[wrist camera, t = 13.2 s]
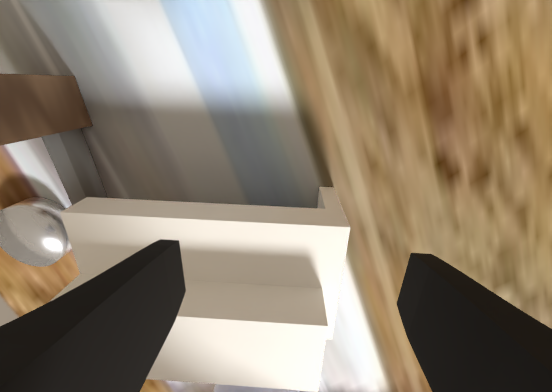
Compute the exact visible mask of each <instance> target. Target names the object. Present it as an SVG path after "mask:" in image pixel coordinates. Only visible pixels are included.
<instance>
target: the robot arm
mask: <svg viewBox="0 0 552 392" xmlns="http://www.w3.org/2000/svg"><path fill="white" fill-rule="evenodd" d="M185 292H186V287H185V280H184V273H183V266H182V258H181V251H180V244H179V240H164V239H160V240H158V241H156V242H154V243H152V244H150V245H148V246H147V247H145V248H143V249H141V250H140V251H138V252H136V253H135V254H133V255H131V256H130V257H128V258H126V259H124V260H123V261H121V262H119V263H118V264H116V265H114V266H113V267H111V268H109V269H108V270H106V271H104V272H102V273H101V274H99V275H97V276H96V277H94V278H92V279H90V280H89V281H87V282H85V283H83V284H81V285H79V286H78V287H76V288H74V289H72V290H70V291H69V292H67V293H65V294H63V295H61V296H59V297H58V298H56V299H54V300H52V301H50V302H49V303H47V304H45V305H43V306H41V307H39V308H37V309H35V310H33V311H31V312H29V313H27V314H25V315H23V316H21V317H19V318H17V319H15V320H13V321H11V322H9V323H7V324H5V325H2V326H0V392H140V390H141V388H142V386H143V384H144V382H145V380H146V378H147V376H148V374H149V372H150V370H151V368H152V366H153V364H154V362H155V360H156V358H157V356H158V354H159V352H160V350H161V348H162V346H163V344H164V342H165V340H166V338H167V336H168V334H169V332H170V330H171V328H172V326H173V324H174V322H175V320H176V317H177V315H178V312H179V309H180V307H181V304H182V301H183V298H184V295H185ZM397 306H398V310H399V313H400V316H401V319H402V323H403V326H404V329H405V331H406V334H407V337H408V339H409V342H410V344H411V346H412V348H413V351H414V353H415V355H416V357H417V359H418V362H419V364H420V366H421V368H422V370H423V372H424V375H425V377H426V379H427V381H428V383H429V385H430V387H431V390H432V392H552V329H551V328H549V327H547V326H546V325H544V324H542V323H541V322H539V321H537V320H536V319H534V318H532V317H531V316H529V315H528V314H526V313H524V312H523V311H521V310H520V309H518V308H516V307H515V306H513V305H512V304H510V303H508V302H507V301H505V300H504V299H502V298H501V297H499V296H498V295H496V294H494V293H493V292H491V291H490V290H488V289H487V288H485V287H484V286H482V285H481V284H479V283H477V282H476V281H474V280H473V279H471V278H470V277H468V276H467V275H465V274H464V273H462V272H460V271H459V270H457V269H456V268H454V267H453V266H451V265H449V264H448V263H446V262H444V261H443V260H441V259H439V258H438V257H436V256H434V255H432V254H420V253H411V255H410V258H409V262H408V266H407V269H406V273H405V276H404V280H403V283H402V287H401V291H400V294H399V298H398V301H397ZM214 392H299V390H288V389H274V388H261V387H248V386H234V385H221V384H215V388H214Z"/></svg>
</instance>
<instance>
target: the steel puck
mask: <svg viewBox="0 0 552 392" xmlns="http://www.w3.org/2000/svg"><path fill="white" fill-rule="evenodd" d="M63 210H65V208H64V207H62V206H61V205H59V204H58V203H56V202H54V201H52V200H49V199H46V198H41V197H32V198H28V199H25V200H23V201H20V202H18V203H16V204H14V205H11V206H9V207H7V208H4V209H2V210H0V246H1V248H2V249H3V250H4V251H5V252H6V253H8V254H9V255H10V256H12V257H13V258H15V259H16V260H18V261H20V262H22V263H25V264H28V265H32V266H48V265H51V264H53V263H55V262H56V261H58V260H59V259H60V258H62V257H63V256H64V255H66V254H67V253H68V252H69V251H71V250H72V247H71V244H70V241H69V238H68V235H67V232H66V229H65V226H64V223H63V220H62V217H61V214H60V212H61V211H63Z"/></svg>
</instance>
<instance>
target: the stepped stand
mask: <svg viewBox="0 0 552 392" xmlns="http://www.w3.org/2000/svg"><path fill="white" fill-rule="evenodd" d="M60 214H61V217H62V220H63V223H64V226H65V229H66V232H67V235H68V238H69V241H70V244H71V247H72V250H73V253H74V256H75V259H76V262H77V265H78V268H79V272H80V274H79V275H78V276H77V277H76V278H75V279H74V280H73V281H72V282H71V283H70V284H68V285H67V286H66V287H65V288H64V289H63V290H62V291H61V292H60V293H59V294H57V295H56V296H55V297H54V298H53V299H52V300H54V299H56V298H58V297H59V296H61V295H63V294H65V293H67V292H69V291H70V290H72V289H74V288H76V287H78V286H79V285H81V284H83V283H85V282H87V281H89V280H90V279H92V278H94V277H96V276H97V275H99V274H101V273H102V272H104V271H106V270H108V269H109V268H111V267H113V266H114V265H116V264H118V263H119V262H121V261H123V260H124V259H126V258H128V257H130V256H131V255H133V254H135V253H136V252H138V251H140V250H141V249H143V248H145V247H147V246H148V245H150V244H152V243H154V242H156V241H158V240H160V239H164V240H179V244H180V251H181V258H182V266H183V273H184V280H185V287H186V292H185V295H184V298H183V301H182V304H181V307H180V309H179V312H178V315H177V317H176V320H175V322H174V324H173V326H172V328H171V330H170V332H169V334H168V336H167V338H166V340H165V342H164V344H163V346H162V348H161V350H160V352H159V354H158V356H157V358H156V360H155V362H154V364H153V366H152V368H151V370H150V372H149V374H148V376H147V378H146V379H154V380H167V381H181V382H194V383H207V384H221V385H234V386H248V387H261V388H274V389H288V390H301V391H315V392H318V390H319V383H320V377H321V370H322V363H323V357H324V350H325V343H326V339H332V337H333V331H334V325H335V318H336V312H337V306H338V300H339V294H340V288H341V282H342V275H343V269H344V263H345V257H346V251H347V245H348V239H349V232H350V225H349V223H348V220H347V218H346V216H345V213H344V211H343V208H342V206H341V203H340V201H339V199H338V196H337V194H336V191H335V189H334V187H319V195H318V205H317V208H300V207H279V206H259V205H239V204H218V203H198V202H178V201H157V200H137V199H117V198H96V197H86V198H85V199H83V200H81V201H79V202H77V203H76V204H74V205H72V206H70V207H68V208H67V209H65V210H63V211H61V212H60ZM52 300H51V301H52Z"/></svg>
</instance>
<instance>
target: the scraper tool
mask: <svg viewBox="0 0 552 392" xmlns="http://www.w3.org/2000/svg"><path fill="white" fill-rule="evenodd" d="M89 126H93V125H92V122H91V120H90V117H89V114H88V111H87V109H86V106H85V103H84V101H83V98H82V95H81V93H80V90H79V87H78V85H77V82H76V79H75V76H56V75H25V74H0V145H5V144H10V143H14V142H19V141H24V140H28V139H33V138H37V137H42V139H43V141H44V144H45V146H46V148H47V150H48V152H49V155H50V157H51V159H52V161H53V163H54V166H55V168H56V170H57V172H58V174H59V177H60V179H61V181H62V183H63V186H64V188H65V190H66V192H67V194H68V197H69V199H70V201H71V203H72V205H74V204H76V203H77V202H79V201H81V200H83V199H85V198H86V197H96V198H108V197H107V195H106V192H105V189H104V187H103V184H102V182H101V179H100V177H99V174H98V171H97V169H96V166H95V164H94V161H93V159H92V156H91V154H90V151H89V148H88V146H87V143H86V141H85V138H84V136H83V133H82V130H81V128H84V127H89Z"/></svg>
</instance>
